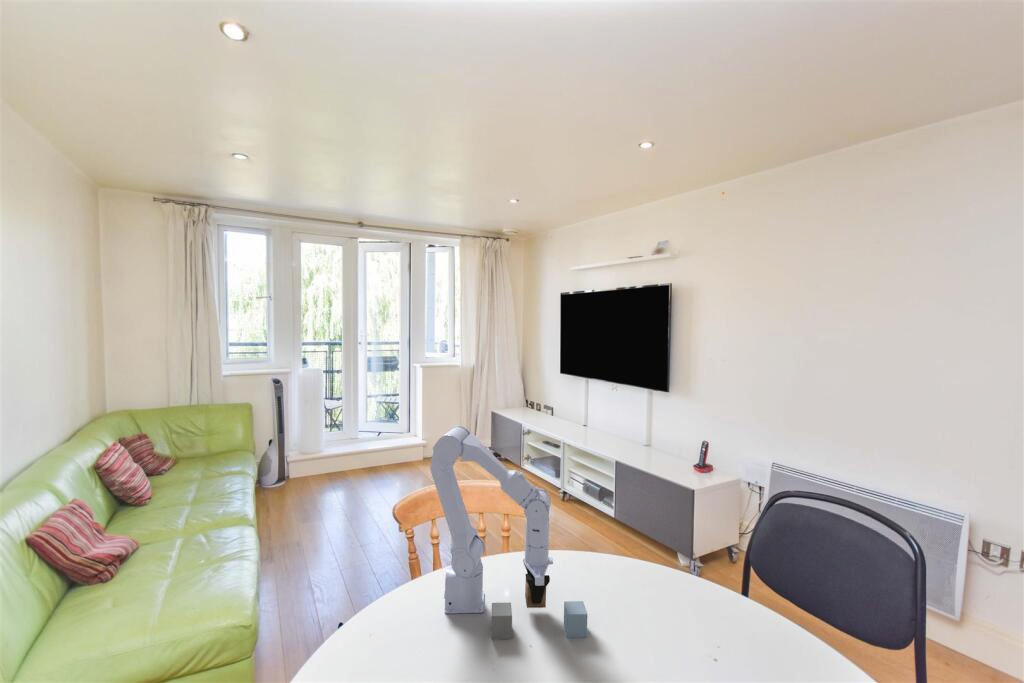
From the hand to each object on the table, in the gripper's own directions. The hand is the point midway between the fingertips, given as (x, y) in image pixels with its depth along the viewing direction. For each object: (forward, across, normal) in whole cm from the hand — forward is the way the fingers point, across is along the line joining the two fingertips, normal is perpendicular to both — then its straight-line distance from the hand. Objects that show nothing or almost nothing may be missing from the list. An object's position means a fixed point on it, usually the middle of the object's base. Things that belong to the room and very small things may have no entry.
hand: (535, 595), depth 110 cm
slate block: (+4, -6, -9) cm, 12 cm away
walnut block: (+1, 0, 0) cm, 1 cm away
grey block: (+4, -6, +8) cm, 11 cm away
